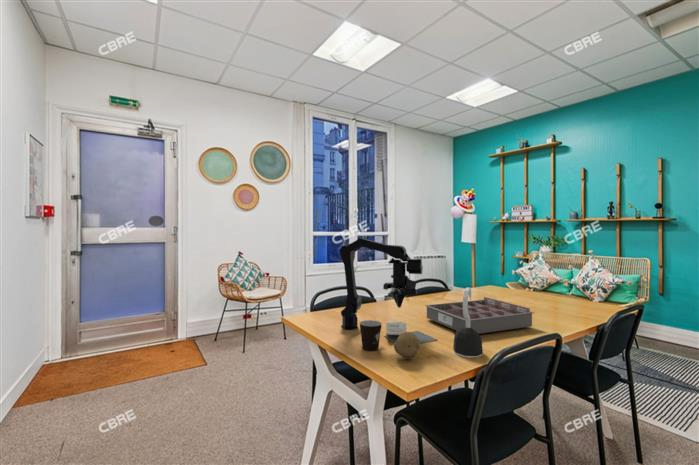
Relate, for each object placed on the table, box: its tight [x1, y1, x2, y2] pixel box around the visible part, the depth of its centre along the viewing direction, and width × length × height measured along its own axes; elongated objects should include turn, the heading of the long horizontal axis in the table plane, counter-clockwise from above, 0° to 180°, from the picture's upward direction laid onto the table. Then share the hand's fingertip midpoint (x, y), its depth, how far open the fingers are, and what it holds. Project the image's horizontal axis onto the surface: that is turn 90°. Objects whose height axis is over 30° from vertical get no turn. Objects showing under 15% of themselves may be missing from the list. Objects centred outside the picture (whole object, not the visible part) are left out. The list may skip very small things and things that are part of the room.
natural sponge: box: [393, 331, 421, 360], centre depth 121 cm, size 9×9×10 cm
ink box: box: [385, 321, 407, 335], centre depth 146 cm, size 9×5×15 cm
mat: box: [383, 330, 438, 344], centre depth 145 cm, size 18×14×1 cm
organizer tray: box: [424, 296, 535, 335], centre depth 167 cm, size 32×40×10 cm
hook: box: [452, 287, 484, 358], centre depth 128 cm, size 11×11×25 cm
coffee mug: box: [359, 319, 382, 352], centre depth 133 cm, size 12×9×10 cm
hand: (399, 307), depth 153 cm, fingers closed
